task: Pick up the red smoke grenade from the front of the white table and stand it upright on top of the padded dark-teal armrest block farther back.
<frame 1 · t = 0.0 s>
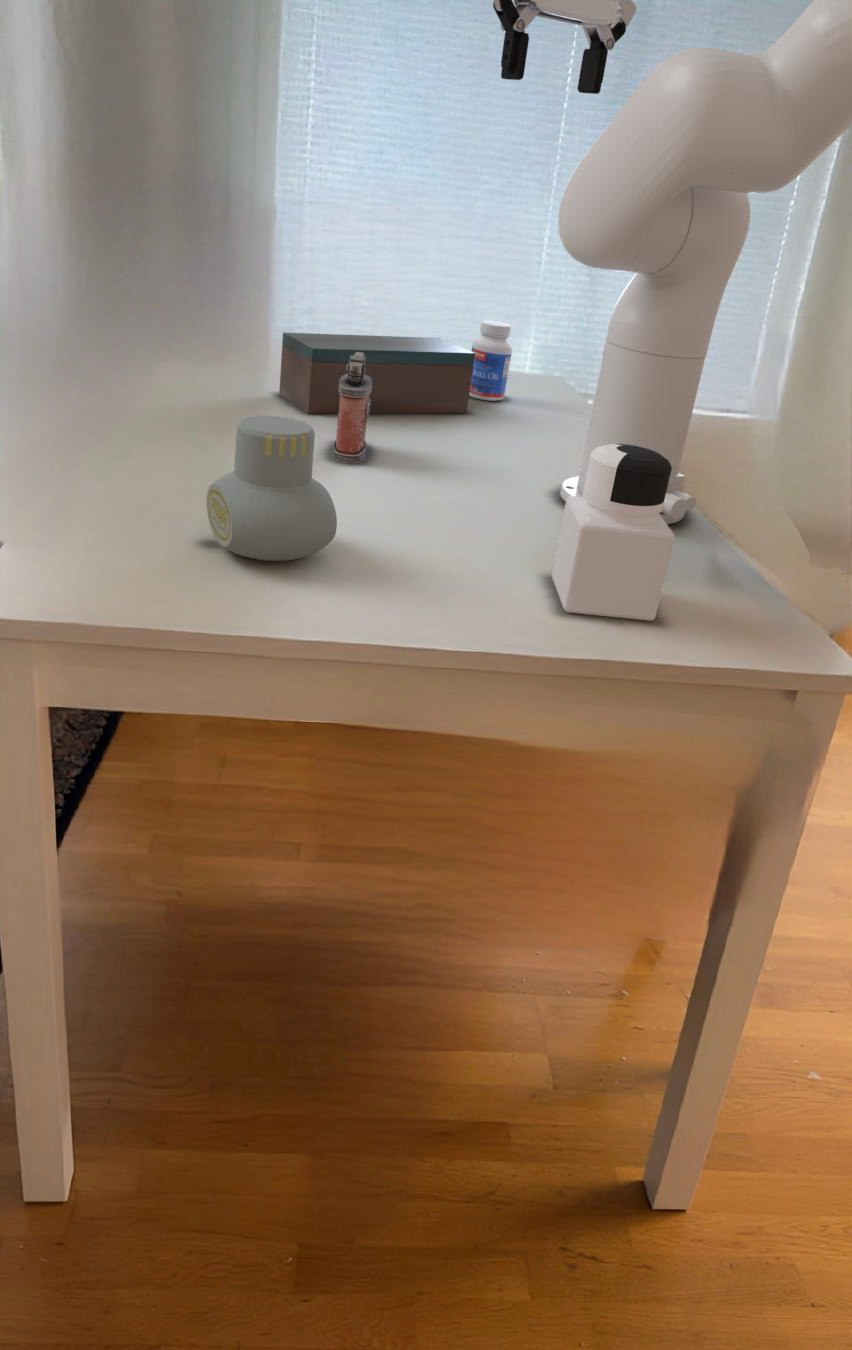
hand: (550, 86, 109), 37 cm above the table, tool pointing down, fingers open, 9 cm apart
pill bottle: (484, 398, 146), on the table
armrest: (374, 404, 134), on the table
red smoke grenade: (349, 454, 113), on the table
air freshener: (268, 552, 85), on the table
medicine bottle: (600, 602, 84), on the table
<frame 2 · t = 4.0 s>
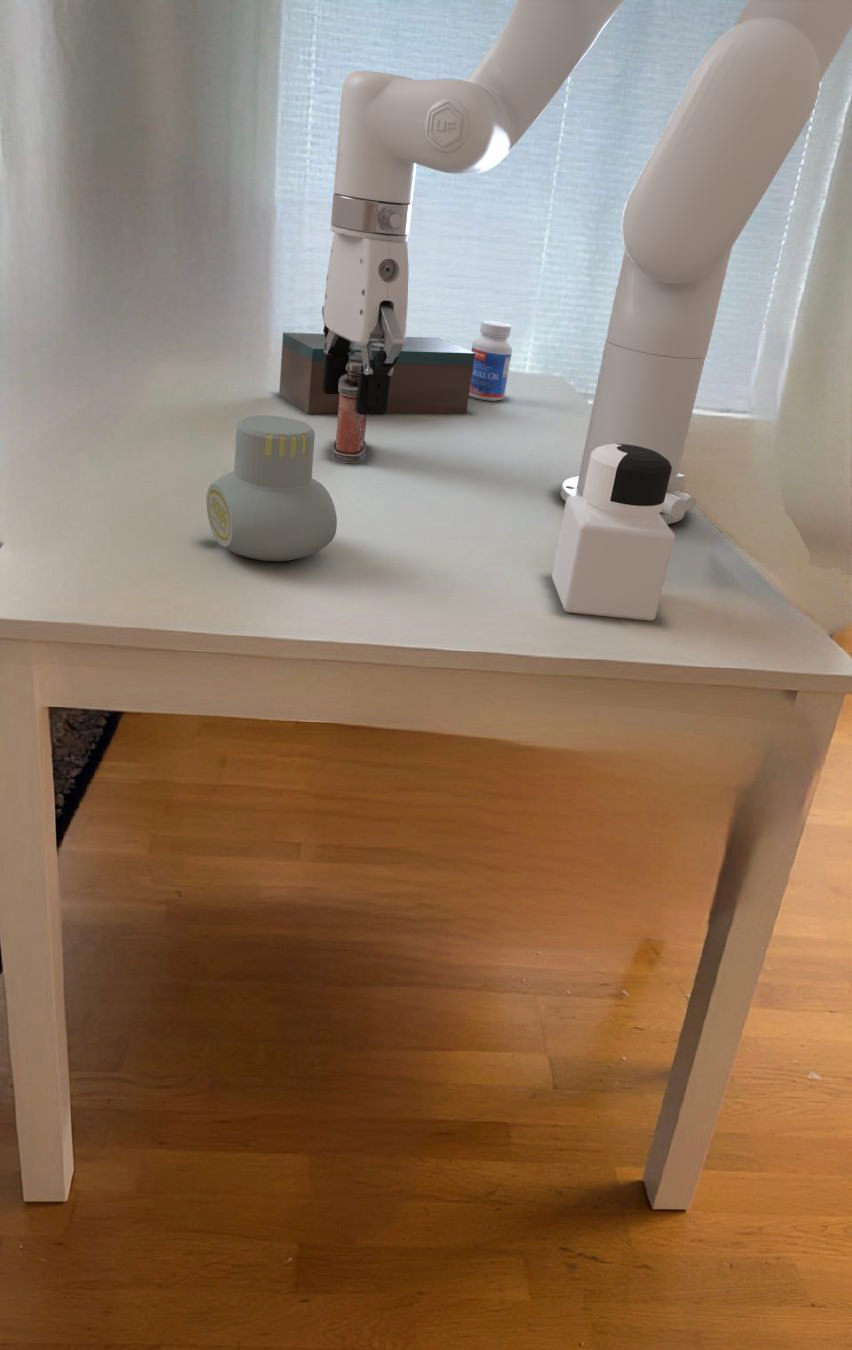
hand: (353, 402, 110), 5 cm above the table, tool pointing down, fingers closed on red smoke grenade, 7 cm apart
red smoke grenade: (348, 454, 113), on the table, touching gripper
everything else where it was.
when the fingers open (13 cm above the table, at t = 10.8 s): red smoke grenade stays where it is, resting on armrest.
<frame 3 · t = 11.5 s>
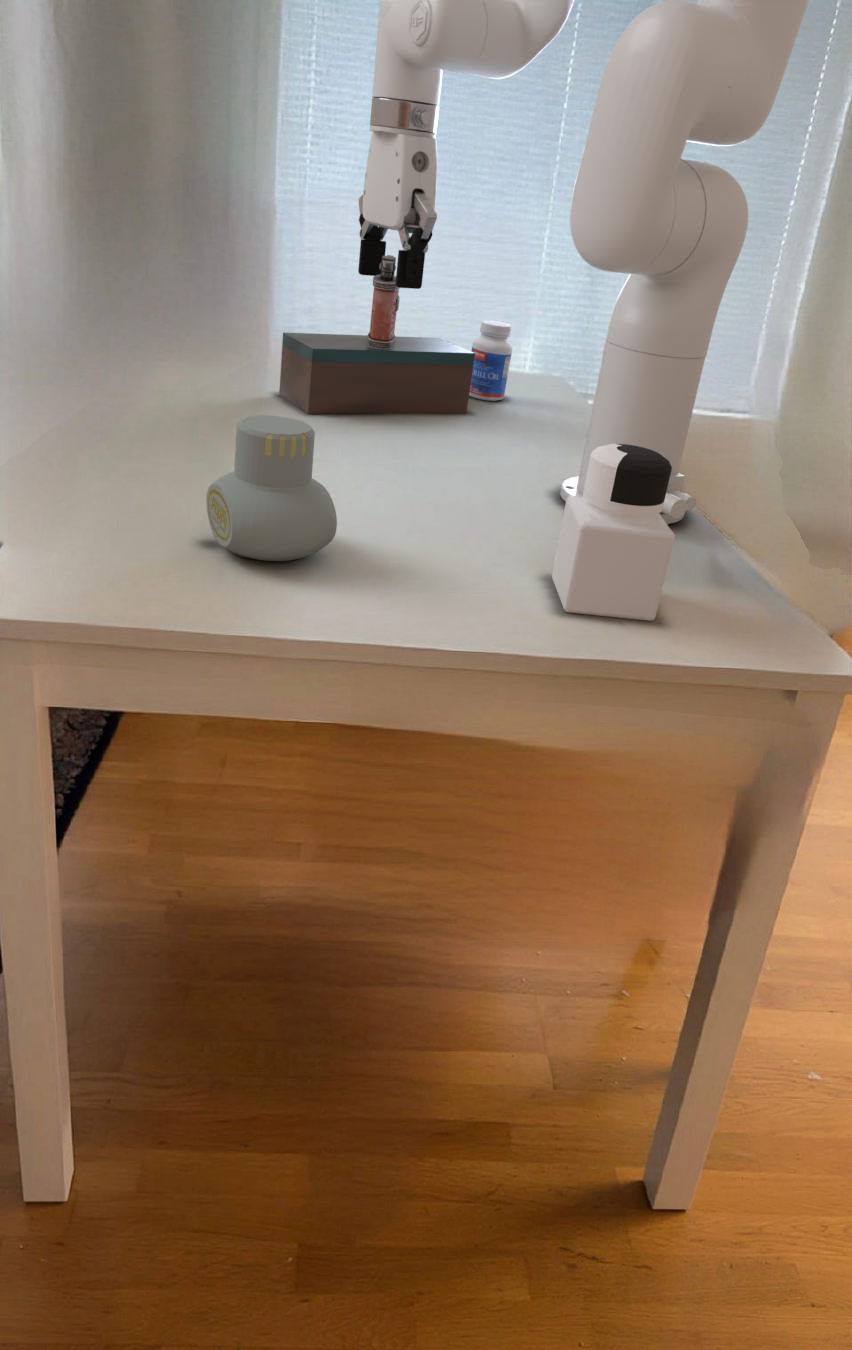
hand: (388, 281, 127), 15 cm above the table, tool pointing down, fingers open, 9 cm apart
red smoke grenade: (380, 344, 131), point 7 cm above the table, touching armrest
everything else where it was.
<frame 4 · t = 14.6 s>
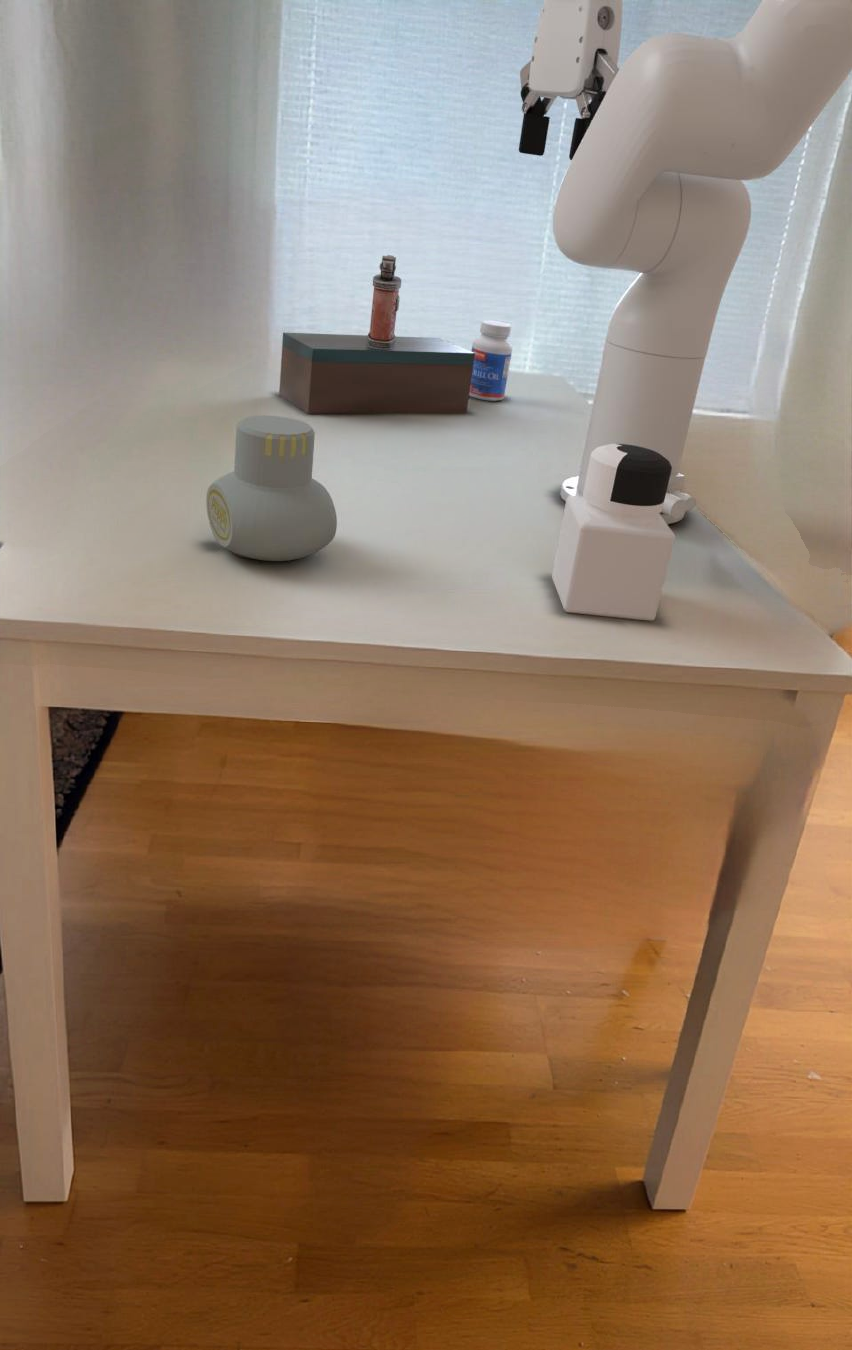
hand: (555, 158, 118), 30 cm above the table, tool pointing down, fingers open, 9 cm apart
nothing on the table moved.
at the end: red smoke grenade inside the target area on the armrest (0.1 cm from its centre), point 7.3 cm above the armrest's base; red smoke grenade tilted 0°; the gripper is holding nothing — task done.
